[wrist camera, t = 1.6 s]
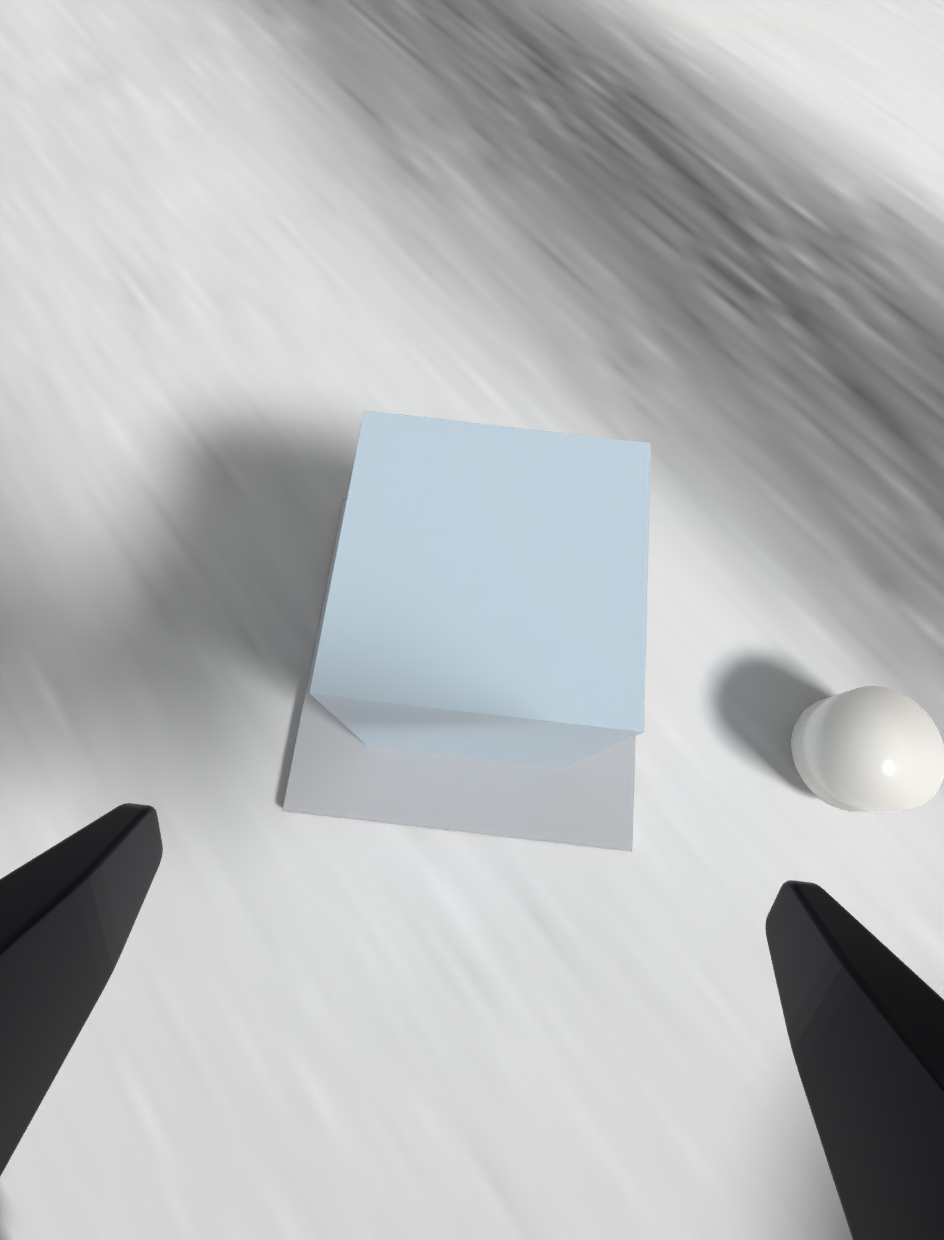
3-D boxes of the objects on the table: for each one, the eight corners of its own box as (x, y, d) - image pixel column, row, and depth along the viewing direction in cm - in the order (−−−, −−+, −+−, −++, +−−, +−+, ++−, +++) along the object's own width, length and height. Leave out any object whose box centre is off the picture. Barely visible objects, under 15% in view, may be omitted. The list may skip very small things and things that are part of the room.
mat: (628, 850, 22) (632, 851, 21) (285, 811, 22) (282, 810, 21) (638, 538, 25) (641, 533, 25) (345, 504, 25) (343, 499, 25)
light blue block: (563, 768, 22) (643, 732, 13) (367, 745, 22) (309, 693, 13) (575, 584, 24) (650, 443, 15) (396, 563, 24) (364, 410, 15)
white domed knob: (866, 834, 22) (923, 836, 19) (762, 773, 23) (804, 767, 20) (903, 737, 23) (961, 726, 21) (803, 681, 24) (848, 664, 21)
